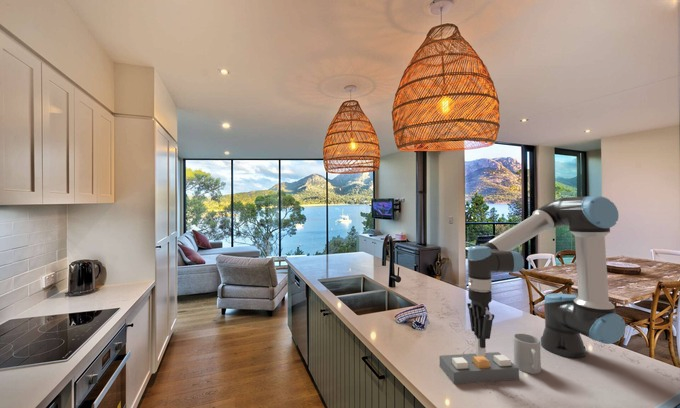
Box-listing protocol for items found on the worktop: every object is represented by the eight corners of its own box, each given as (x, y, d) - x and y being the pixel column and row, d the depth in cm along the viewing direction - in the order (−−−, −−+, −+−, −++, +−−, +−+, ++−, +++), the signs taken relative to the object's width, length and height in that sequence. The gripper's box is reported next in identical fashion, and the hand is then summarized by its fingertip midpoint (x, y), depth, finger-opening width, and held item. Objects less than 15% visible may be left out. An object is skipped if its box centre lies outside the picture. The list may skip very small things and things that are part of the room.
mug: (510, 360, 111) (509, 332, 111) (534, 362, 109) (533, 334, 109) (523, 378, 99) (523, 347, 99) (550, 381, 97) (550, 349, 97)
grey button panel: (498, 362, 109) (498, 346, 109) (519, 379, 98) (518, 361, 98) (439, 366, 107) (439, 349, 107) (453, 384, 96) (453, 365, 96)
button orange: (483, 364, 102) (483, 355, 102) (489, 370, 99) (489, 361, 99) (473, 365, 102) (472, 356, 102) (478, 371, 98) (478, 361, 98)
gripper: (460, 284, 107) (461, 346, 106) (480, 295, 94) (481, 365, 93) (478, 284, 108) (479, 345, 107) (501, 294, 95) (502, 364, 94)
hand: (480, 355), depth 100 cm, fingers closed
